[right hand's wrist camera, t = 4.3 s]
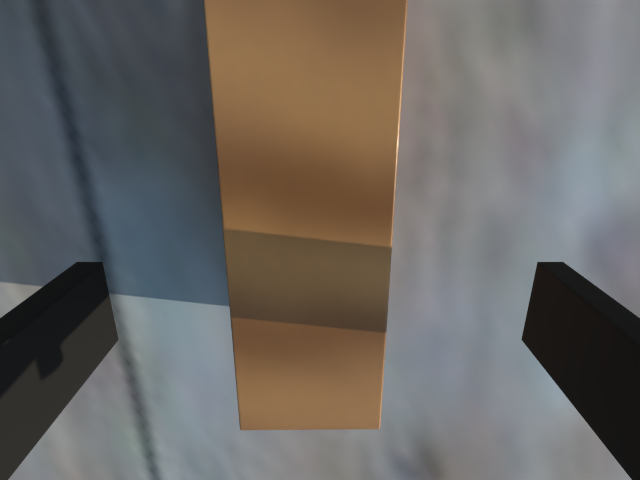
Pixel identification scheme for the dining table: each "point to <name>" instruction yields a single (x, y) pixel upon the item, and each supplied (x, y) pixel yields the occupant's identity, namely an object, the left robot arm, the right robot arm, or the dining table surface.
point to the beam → (307, 201)
